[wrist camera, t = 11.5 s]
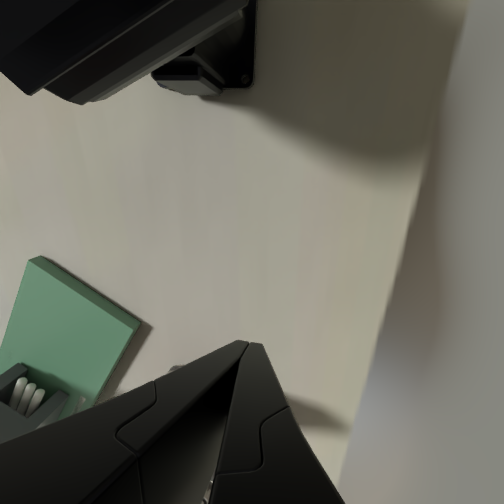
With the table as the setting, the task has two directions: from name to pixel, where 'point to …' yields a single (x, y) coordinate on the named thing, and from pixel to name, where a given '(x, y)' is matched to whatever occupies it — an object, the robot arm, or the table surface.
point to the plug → (13, 423)
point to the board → (64, 336)
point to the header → (25, 398)
